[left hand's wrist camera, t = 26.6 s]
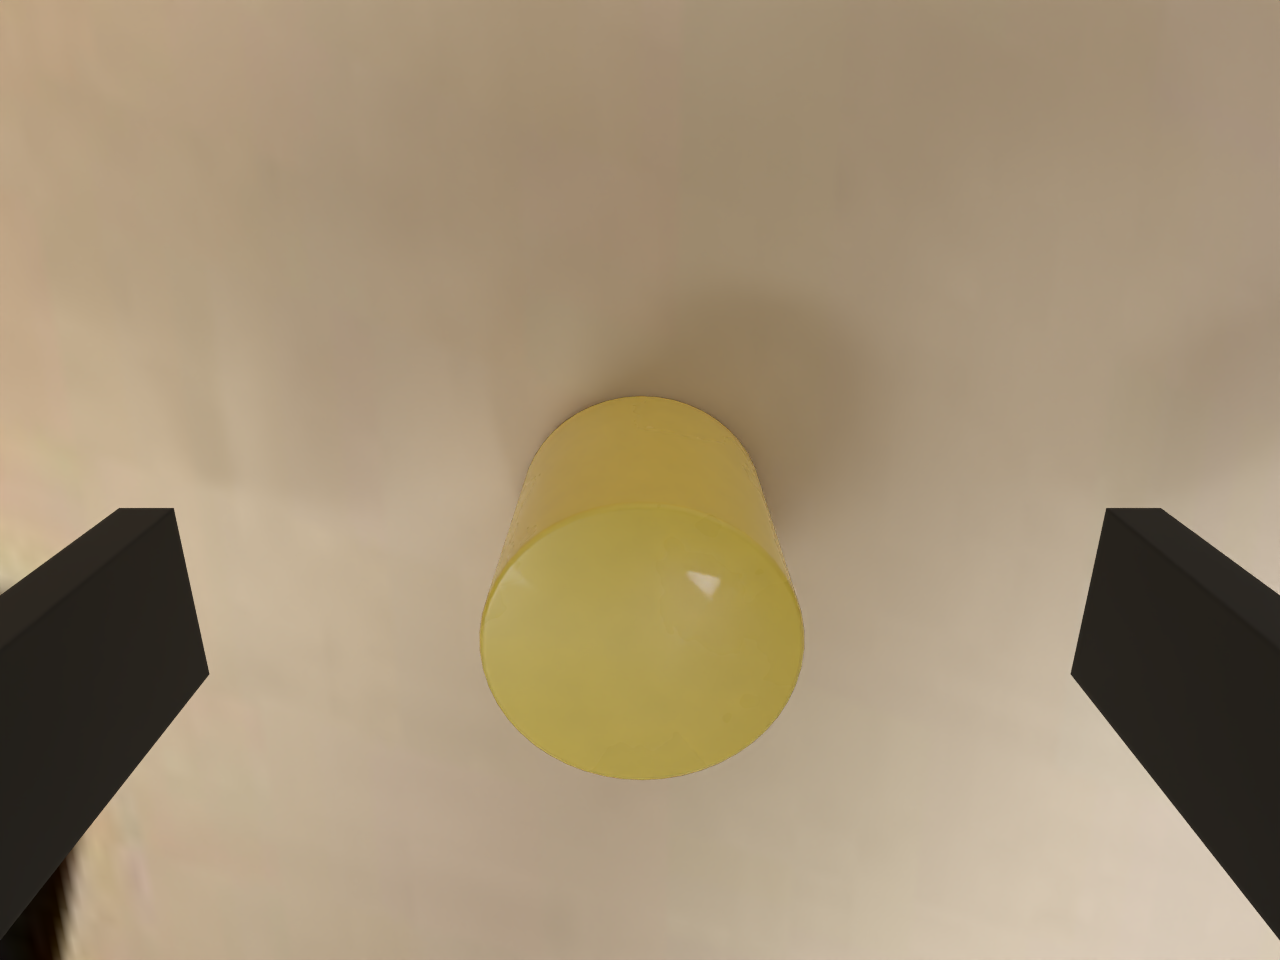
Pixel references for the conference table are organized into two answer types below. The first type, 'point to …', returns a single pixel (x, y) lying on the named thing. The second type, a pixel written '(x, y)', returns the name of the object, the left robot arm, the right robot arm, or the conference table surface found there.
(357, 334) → the conference table surface
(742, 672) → the yellow cylinder
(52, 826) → the left robot arm
